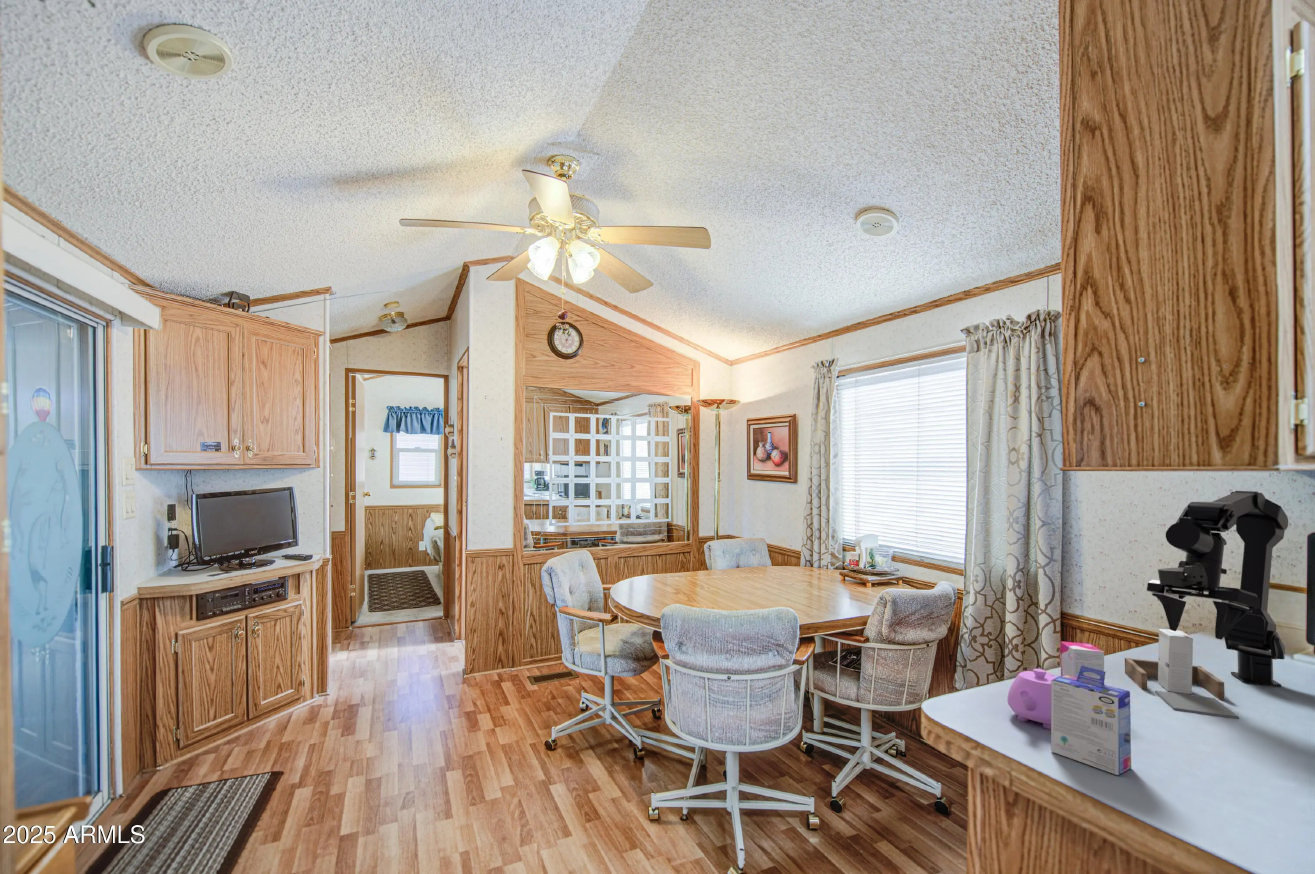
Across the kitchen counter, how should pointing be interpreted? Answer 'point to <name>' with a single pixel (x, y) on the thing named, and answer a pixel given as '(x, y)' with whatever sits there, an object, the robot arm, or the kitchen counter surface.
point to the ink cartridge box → (1091, 721)
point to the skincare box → (1175, 661)
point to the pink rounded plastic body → (1032, 696)
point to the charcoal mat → (1196, 704)
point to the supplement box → (1080, 659)
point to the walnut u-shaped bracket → (1145, 668)
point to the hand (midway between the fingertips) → (1194, 634)
